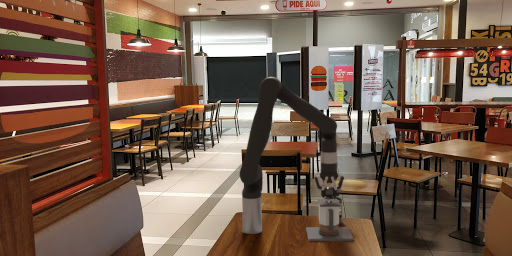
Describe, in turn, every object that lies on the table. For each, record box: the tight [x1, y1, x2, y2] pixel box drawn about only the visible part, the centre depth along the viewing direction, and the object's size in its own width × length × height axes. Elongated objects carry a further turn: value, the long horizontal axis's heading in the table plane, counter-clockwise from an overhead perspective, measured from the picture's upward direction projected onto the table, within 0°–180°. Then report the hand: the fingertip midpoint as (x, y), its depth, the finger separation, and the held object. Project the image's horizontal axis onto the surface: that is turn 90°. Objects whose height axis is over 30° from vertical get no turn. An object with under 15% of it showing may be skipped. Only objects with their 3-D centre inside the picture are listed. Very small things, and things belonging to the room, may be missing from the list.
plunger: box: [324, 185, 334, 203], centre depth 187 cm, size 4×4×15 cm
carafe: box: [317, 198, 341, 237], centre depth 186 cm, size 9×12×15 cm
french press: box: [323, 178, 343, 226], centre depth 204 cm, size 12×9×23 cm
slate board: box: [305, 226, 354, 242], centre depth 189 cm, size 20×14×1 cm
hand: (328, 197), depth 187 cm, fingers closed on plunger, 4 cm apart
